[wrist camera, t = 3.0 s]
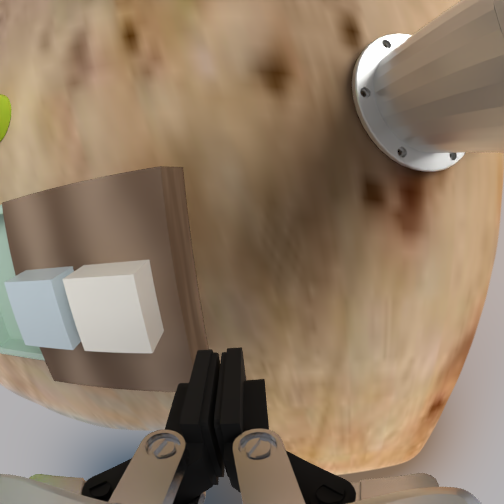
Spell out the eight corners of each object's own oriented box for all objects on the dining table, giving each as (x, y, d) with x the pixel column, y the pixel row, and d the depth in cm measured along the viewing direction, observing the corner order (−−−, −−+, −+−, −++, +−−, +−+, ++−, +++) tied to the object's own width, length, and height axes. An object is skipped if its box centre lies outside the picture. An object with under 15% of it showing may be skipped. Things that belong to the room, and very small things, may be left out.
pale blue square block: (72, 266, 18) (50, 279, 15) (90, 330, 19) (73, 350, 17) (26, 270, 18) (4, 282, 15) (43, 328, 19) (25, 345, 17)
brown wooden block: (182, 167, 22) (160, 166, 16) (208, 349, 26) (199, 391, 21) (43, 194, 23) (1, 202, 17) (80, 348, 27) (54, 380, 21)
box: (42, 194, 23) (22, 198, 20) (79, 348, 27) (66, 363, 24) (-23, 213, 23) (-40, 218, 20) (11, 341, 27) (-2, 352, 24)
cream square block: (149, 259, 18) (133, 274, 15) (164, 330, 19) (152, 353, 17) (83, 265, 18) (62, 279, 15) (101, 330, 19) (84, 350, 17)
